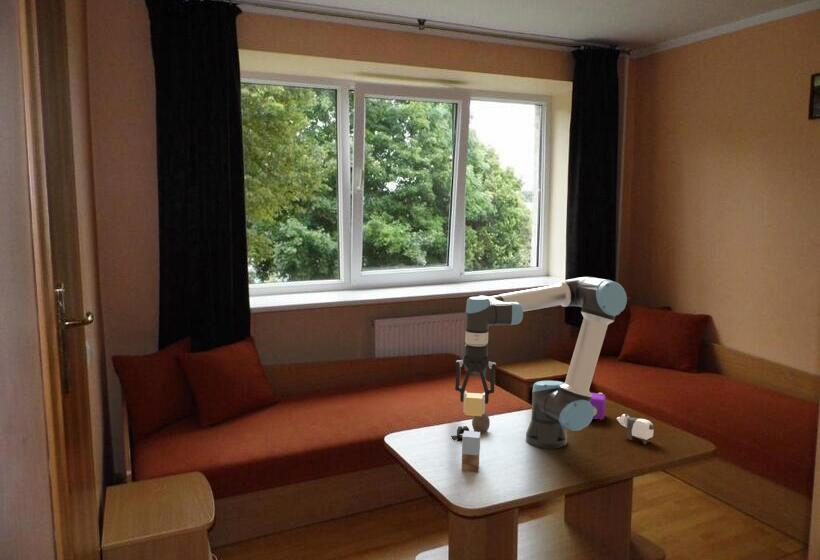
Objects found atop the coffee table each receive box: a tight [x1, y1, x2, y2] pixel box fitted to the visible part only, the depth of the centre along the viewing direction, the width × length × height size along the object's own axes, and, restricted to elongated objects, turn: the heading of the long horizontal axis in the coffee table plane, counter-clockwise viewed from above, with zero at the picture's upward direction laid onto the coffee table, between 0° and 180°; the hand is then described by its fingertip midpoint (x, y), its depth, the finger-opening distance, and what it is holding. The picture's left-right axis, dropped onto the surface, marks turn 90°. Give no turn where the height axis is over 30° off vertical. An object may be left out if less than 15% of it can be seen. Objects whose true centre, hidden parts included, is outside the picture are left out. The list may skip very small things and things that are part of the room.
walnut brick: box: [461, 450, 481, 473], centre depth 208 cm, size 6×6×6 cm
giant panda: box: [616, 412, 655, 442], centre depth 237 cm, size 15×6×10 cm, turn 43°
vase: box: [471, 411, 491, 434], centre depth 242 cm, size 7×7×9 cm
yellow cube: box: [464, 392, 483, 416], centre depth 205 cm, size 6×6×6 cm
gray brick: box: [461, 430, 481, 456], centre depth 207 cm, size 6×6×6 cm
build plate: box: [450, 425, 470, 442], centre depth 235 cm, size 12×7×5 cm, turn 104°
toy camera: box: [590, 392, 607, 420], centre depth 260 cm, size 11×14×10 cm
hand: (473, 411), depth 206 cm, fingers closed on yellow cube, 5 cm apart
